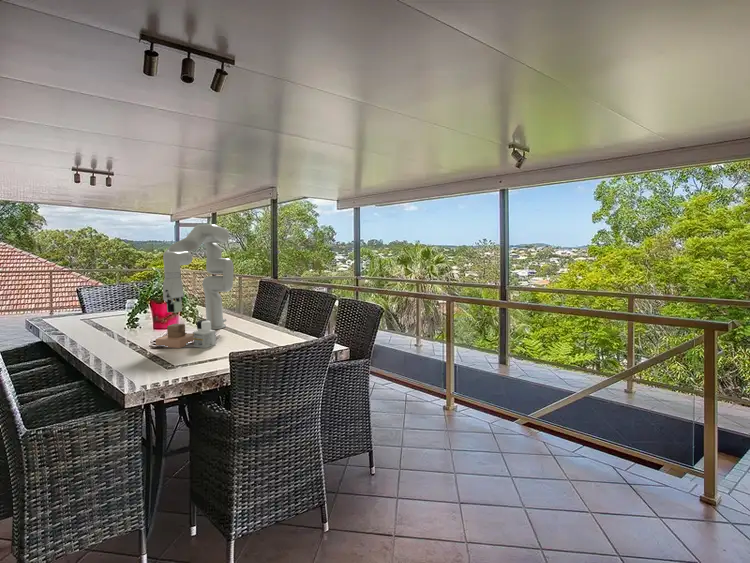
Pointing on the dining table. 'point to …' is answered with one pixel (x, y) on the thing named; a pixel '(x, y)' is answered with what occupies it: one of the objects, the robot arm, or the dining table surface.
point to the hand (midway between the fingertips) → (174, 310)
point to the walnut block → (176, 330)
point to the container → (204, 335)
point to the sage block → (176, 306)
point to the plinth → (174, 341)
